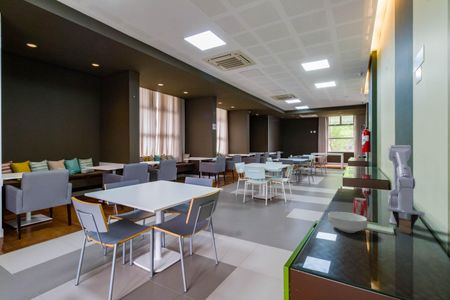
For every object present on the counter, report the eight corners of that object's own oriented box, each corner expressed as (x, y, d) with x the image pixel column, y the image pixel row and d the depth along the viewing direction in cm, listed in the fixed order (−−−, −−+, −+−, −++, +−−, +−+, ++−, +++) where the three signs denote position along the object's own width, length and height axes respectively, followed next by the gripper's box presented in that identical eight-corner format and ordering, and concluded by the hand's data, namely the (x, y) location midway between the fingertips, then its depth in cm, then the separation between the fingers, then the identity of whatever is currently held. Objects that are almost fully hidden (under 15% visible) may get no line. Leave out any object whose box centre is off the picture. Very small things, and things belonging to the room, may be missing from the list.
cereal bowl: (366, 228, 112) (367, 215, 112) (366, 239, 98) (367, 223, 98) (329, 222, 121) (330, 209, 121) (325, 230, 107) (325, 216, 107)
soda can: (369, 222, 123) (369, 200, 123) (355, 220, 125) (356, 199, 125) (363, 218, 130) (364, 198, 130) (350, 217, 132) (351, 197, 132)
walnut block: (398, 229, 113) (398, 217, 113) (409, 231, 110) (410, 219, 110) (398, 231, 109) (399, 219, 109) (410, 233, 106) (411, 221, 106)
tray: (365, 223, 121) (365, 221, 121) (392, 228, 114) (392, 226, 114) (363, 229, 111) (364, 226, 111) (393, 235, 104) (393, 232, 104)
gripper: (387, 200, 111) (386, 227, 110) (426, 204, 102) (425, 234, 102) (387, 197, 116) (386, 223, 116) (423, 202, 108) (422, 230, 108)
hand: (404, 228), depth 110 cm, fingers closed on walnut block, 4 cm apart
